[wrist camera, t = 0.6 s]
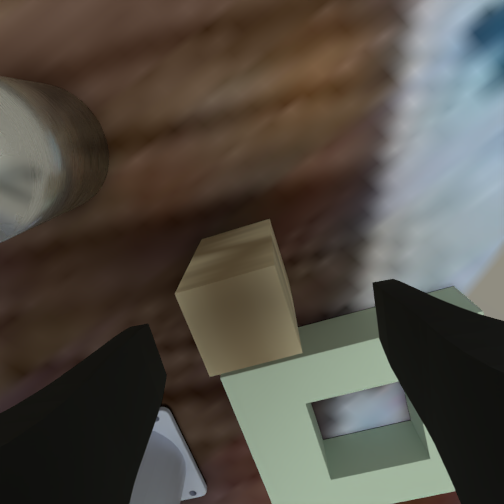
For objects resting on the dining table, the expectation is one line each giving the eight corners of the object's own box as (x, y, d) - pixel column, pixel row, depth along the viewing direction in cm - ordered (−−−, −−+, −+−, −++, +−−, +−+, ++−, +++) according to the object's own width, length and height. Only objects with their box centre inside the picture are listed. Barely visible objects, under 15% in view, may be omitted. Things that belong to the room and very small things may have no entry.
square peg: (224, 300, 22) (209, 377, 15) (201, 239, 21) (174, 293, 14) (289, 282, 22) (302, 353, 15) (269, 218, 20) (274, 265, 14)
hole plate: (279, 483, 27) (281, 525, 24) (225, 346, 23) (220, 378, 20) (477, 440, 25) (505, 481, 22) (453, 286, 21) (483, 311, 19)
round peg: (24, 224, 21) (-86, 272, 14) (-39, 107, 19) (-201, 99, 12) (128, 189, 20) (63, 223, 13) (74, 64, 18) (-33, 31, 11)
